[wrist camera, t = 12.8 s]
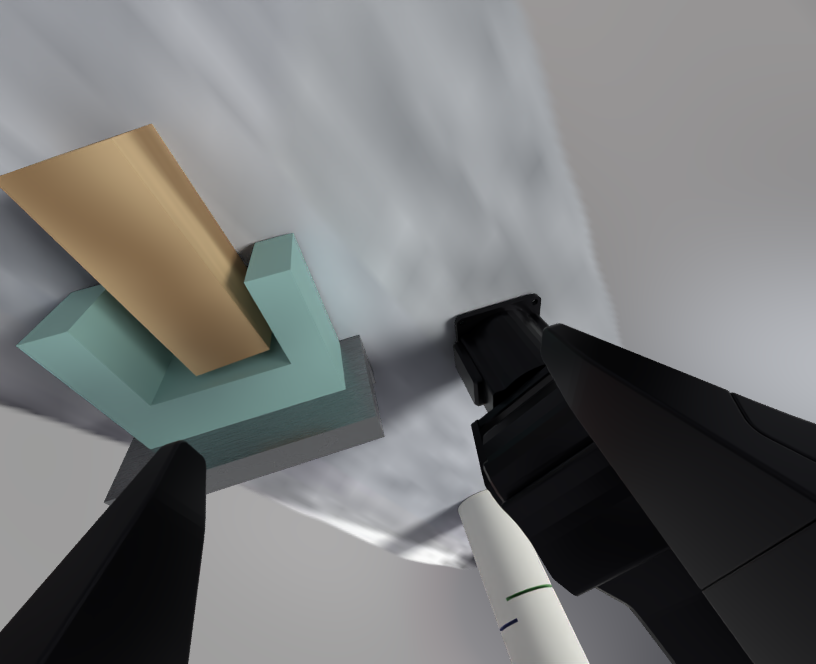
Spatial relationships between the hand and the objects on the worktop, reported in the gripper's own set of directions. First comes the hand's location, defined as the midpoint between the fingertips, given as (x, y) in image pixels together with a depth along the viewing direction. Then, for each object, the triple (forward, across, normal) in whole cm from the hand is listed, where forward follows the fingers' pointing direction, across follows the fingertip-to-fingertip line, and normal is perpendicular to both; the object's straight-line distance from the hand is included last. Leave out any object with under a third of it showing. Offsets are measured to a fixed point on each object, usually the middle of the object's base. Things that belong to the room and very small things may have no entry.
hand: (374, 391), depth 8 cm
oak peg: (+13, +8, 0) cm, 15 cm away
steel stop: (+12, +8, +9) cm, 17 cm away
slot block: (+12, +8, +4) cm, 15 cm away
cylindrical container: (+13, -7, +42) cm, 44 cm away
